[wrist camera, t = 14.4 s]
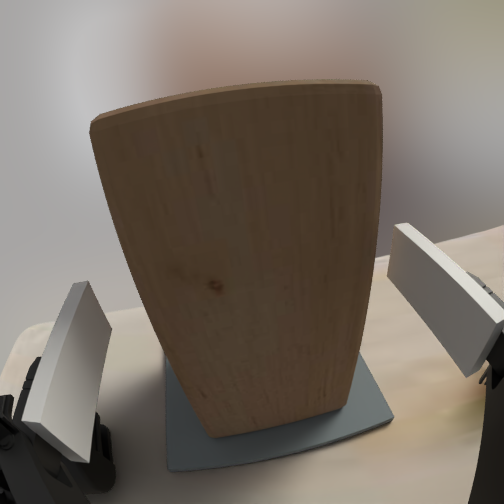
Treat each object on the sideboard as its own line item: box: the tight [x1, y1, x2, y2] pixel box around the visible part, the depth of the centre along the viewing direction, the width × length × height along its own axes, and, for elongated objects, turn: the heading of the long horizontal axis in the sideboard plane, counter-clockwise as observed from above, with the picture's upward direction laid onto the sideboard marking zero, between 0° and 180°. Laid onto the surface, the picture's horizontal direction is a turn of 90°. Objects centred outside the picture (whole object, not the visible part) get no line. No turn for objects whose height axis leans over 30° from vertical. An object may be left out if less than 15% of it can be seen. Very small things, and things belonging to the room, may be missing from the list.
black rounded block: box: [0, 394, 116, 494], centre depth 14 cm, size 10×7×7 cm
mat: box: [166, 352, 394, 472], centre depth 23 cm, size 16×14×1 cm
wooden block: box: [89, 79, 383, 438], centre depth 17 cm, size 10×10×20 cm
